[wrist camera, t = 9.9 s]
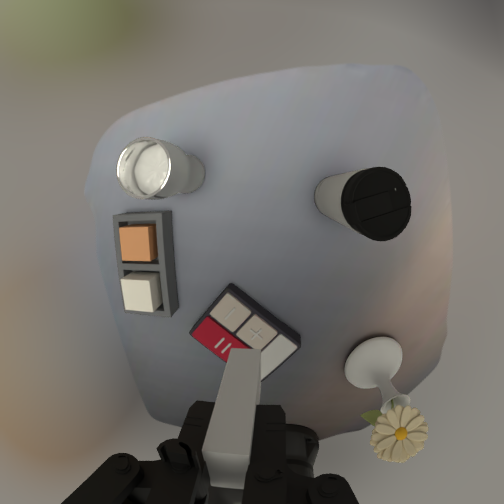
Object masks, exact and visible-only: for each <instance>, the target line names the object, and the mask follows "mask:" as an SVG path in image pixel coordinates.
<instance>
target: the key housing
mask: <svg viewBox="0 0 504 504" xmlns="http://www.w3.org/2000/svg"><path fill="white" fill-rule="evenodd" d="M131 224H156V232H157V246H158V257H157V258H155V259H153V260H152V261H122V255H121V245H120V233H119V228H120V227H124V226H127V225H131ZM113 226H114V238H115V248H116V257H117V266H118V273H119V281H120V287H121V294H122V300H123V306H124V311H125V313H130V314H140V315H149V316H160V317H172V315H173V314H174V313H175V312H176V310H177V309H178V308H179V305H178V295H177V285H176V274H175V262H174V248H173V232H172V211H155V212H135V213H123V214H118V215H113ZM131 272H152V273H160V282H161V291H162V299H163V303H162V304H161V305H160V306H159V307H158V308H157V309H156V310H155V311H154V312H144V311H134V310H125V304H124V298H123V292H122V285H121V279H122V278H123V277H125V276H126V275H128V274H130V273H131Z"/></svg>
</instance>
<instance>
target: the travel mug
mask: <svg viewBox="0 0 504 504" xmlns="http://www.w3.org/2000/svg"><path fill="white" fill-rule="evenodd" d="M314 200H315V204H316V206H317V208H318V210H319V211H320V212H321V213H322V214H324V215H325V216H327V217H329V218H331V219H333V220H335V221H337V222H338V223H340V224H342V225H344V226H346V227H348V228H350V229H352V230H353V231H355V232H357V233H359V234H362V235H364V236H366V237H368V238H370V239H372V240H376V241H387V240H391V239H393V238H395V237H397V236H398V235H399V234H400V233H401V232H402V231H403V230H404V229H405V228H406V226H407V224H408V222H409V219H410V216H411V206H410V204H411V199H410V194H409V191H408V188H407V187H406V184H405V182H404V180H403V179H402V177H401V176H400V175H399V174H398V173H397V172H395V171H393V170H391V169H389V168H386V167H374V168H367V169H361V170H357V171H352V172H348V173H343V174H339V175H335V176H331V177H327V178H325V179H323V180H322V181H321V182H320V183H319V184H318V185H317V187H316V190H315V194H314Z"/></svg>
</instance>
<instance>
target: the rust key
mask: <svg viewBox="0 0 504 504" xmlns="http://www.w3.org/2000/svg"><path fill="white" fill-rule="evenodd" d="M119 233H120V245H121V255H122V261H152V260H153V259H155V258H157V257H158V246H157V232H156V224H131V225H127V226H124V227H120V228H119Z"/></svg>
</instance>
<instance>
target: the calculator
mask: <svg viewBox="0 0 504 504" xmlns="http://www.w3.org/2000/svg"><path fill="white" fill-rule="evenodd" d="M189 333H190V335H191V336H192V337H194V338H195V339H196V340H197V341H199V342H200V343H201V344H202V345H204V346H205V347H206V348H208V349H209V350H210V351H211V352H213V353H214V354H215V355H217V356H218V357H219V358H221V359H222V360H223V361H225V362H226V363H227V360H228V357H229V353H230V350H231V348H240V349H261V382H262V381H263V380H264V379H266V378H267V377H268V376H269V375H270V374H271V373H273V372H274V371H275V370H276V369H277V368H278V367H279V366H280V365H282V364H283V363H284V362H285V361H286V360H287V359H288V358H289V357H290V356H292V355H293V354H294V353H295V352H296V351H297V350H298V349H299V348H300V347H301V340H300V335H299V334H298V333H296V332H295V331H294V330H292V329H291V328H290V327H288V326H287V325H286V324H284V323H283V322H281V321H279V320H278V319H277V318H275V317H274V316H273V315H272V314H270V313H269V312H268V311H267V310H265V309H264V308H263V307H262V306H260V305H259V304H258V303H257V302H255V301H254V300H253V299H252V298H250V297H249V296H248V295H247V294H245V293H244V292H243V291H241V290H240V289H239V288H238V287H236V286H235V285H234V284H232V283H230V284H229V285H228V286H227V287H226V288H225V290H224V291H223V292H222V293H221V294H220V295H219V297H218V298H217V299H216V300H215V301H214V303H213V304H212V305H211V306H210V307H209V308H208V310H207V311H206V312H205V313H204V314H203V316H202V317H201V318H200V319H199V320H198V321H197V323H196V324H195V325H194V326H193V328H192V329H191V330H190V332H189Z"/></svg>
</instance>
